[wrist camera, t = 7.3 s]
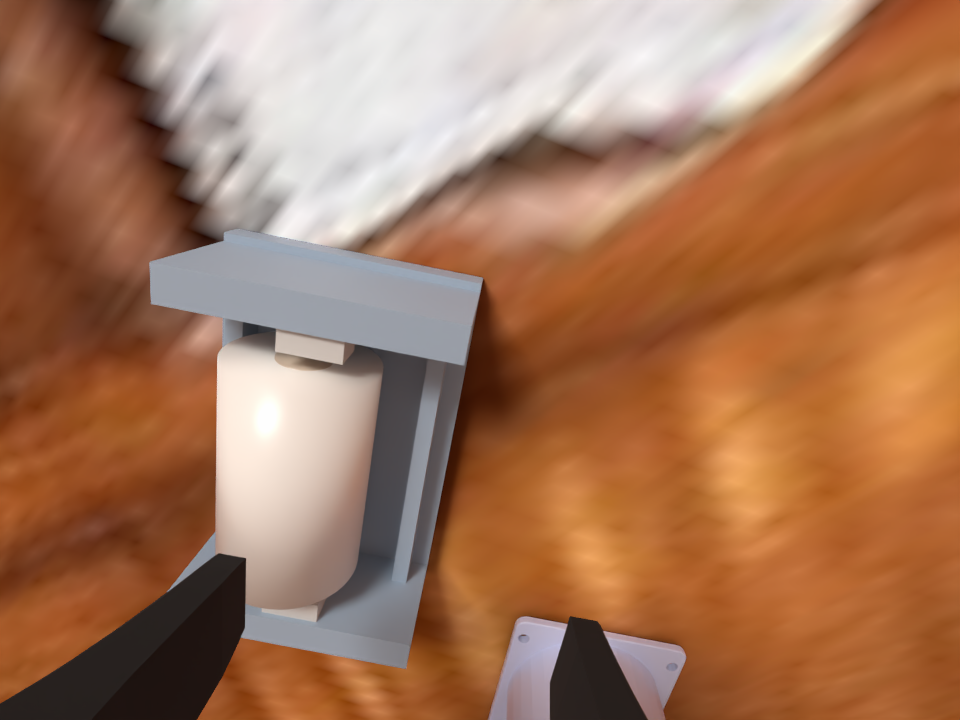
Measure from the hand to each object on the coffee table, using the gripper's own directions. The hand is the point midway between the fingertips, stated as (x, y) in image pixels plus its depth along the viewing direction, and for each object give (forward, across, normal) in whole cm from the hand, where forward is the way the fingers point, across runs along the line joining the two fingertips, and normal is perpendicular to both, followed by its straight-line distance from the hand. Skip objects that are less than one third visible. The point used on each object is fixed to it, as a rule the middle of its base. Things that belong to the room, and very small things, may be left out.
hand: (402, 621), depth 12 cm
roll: (+9, +5, +1) cm, 10 cm away
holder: (+10, +4, +1) cm, 11 cm away
